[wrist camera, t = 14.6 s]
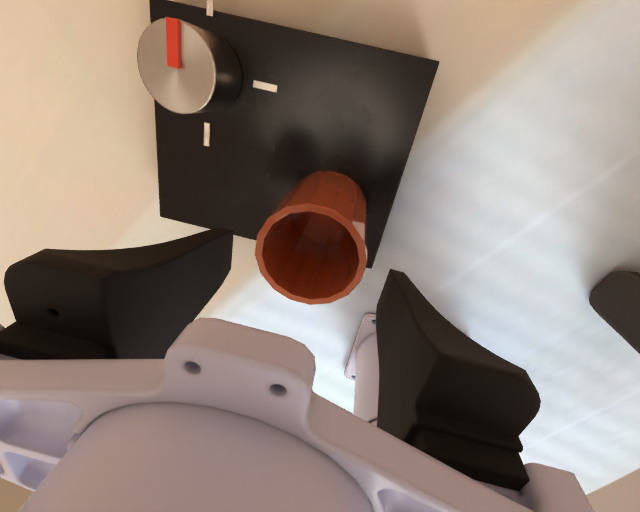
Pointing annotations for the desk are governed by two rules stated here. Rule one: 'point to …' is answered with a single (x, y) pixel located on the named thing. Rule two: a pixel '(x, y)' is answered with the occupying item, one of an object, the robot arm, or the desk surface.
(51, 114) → the desk surface
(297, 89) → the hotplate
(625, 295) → the card reader
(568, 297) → the desk surface
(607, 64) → the desk surface
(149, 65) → the dial
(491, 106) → the desk surface
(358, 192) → the cup
